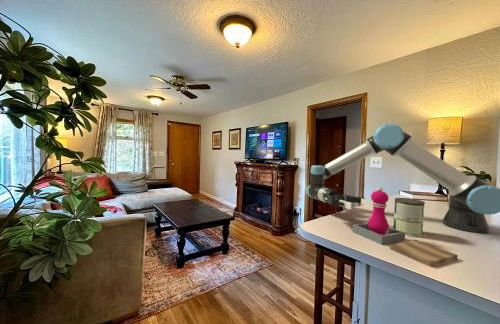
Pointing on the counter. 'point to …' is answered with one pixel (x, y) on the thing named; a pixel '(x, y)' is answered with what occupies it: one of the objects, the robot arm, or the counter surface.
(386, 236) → the holder
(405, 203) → the coffee can
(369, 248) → the counter surface
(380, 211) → the pepper mill
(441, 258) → the board
